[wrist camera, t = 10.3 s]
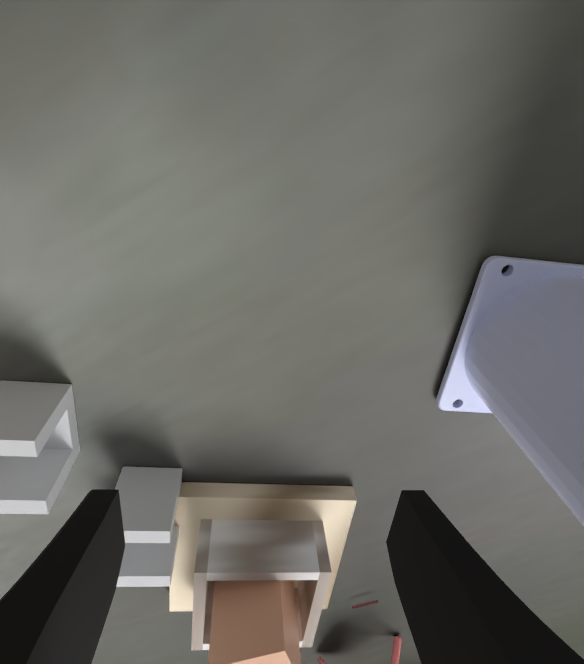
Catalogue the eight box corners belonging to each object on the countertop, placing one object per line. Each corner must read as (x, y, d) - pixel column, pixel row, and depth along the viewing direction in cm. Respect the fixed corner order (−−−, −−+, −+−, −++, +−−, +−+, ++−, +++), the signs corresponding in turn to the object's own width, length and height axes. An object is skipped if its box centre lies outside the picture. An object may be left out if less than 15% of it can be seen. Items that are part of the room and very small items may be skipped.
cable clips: (183, 390, 20) (169, 445, 17) (181, 520, 24) (170, 586, 21) (1, 380, 19) (-53, 437, 16) (30, 518, 23) (-7, 587, 20)
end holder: (353, 486, 24) (370, 550, 20) (324, 593, 28) (335, 661, 25) (172, 481, 23) (157, 549, 19) (172, 595, 27) (160, 667, 24)
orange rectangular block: (277, 530, 24) (284, 650, 18) (292, 567, 25) (303, 687, 20) (217, 545, 24) (207, 669, 18) (236, 581, 25) (232, 704, 20)
